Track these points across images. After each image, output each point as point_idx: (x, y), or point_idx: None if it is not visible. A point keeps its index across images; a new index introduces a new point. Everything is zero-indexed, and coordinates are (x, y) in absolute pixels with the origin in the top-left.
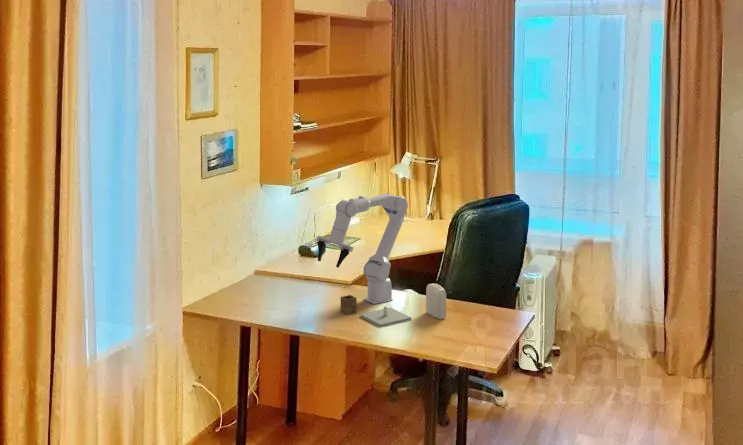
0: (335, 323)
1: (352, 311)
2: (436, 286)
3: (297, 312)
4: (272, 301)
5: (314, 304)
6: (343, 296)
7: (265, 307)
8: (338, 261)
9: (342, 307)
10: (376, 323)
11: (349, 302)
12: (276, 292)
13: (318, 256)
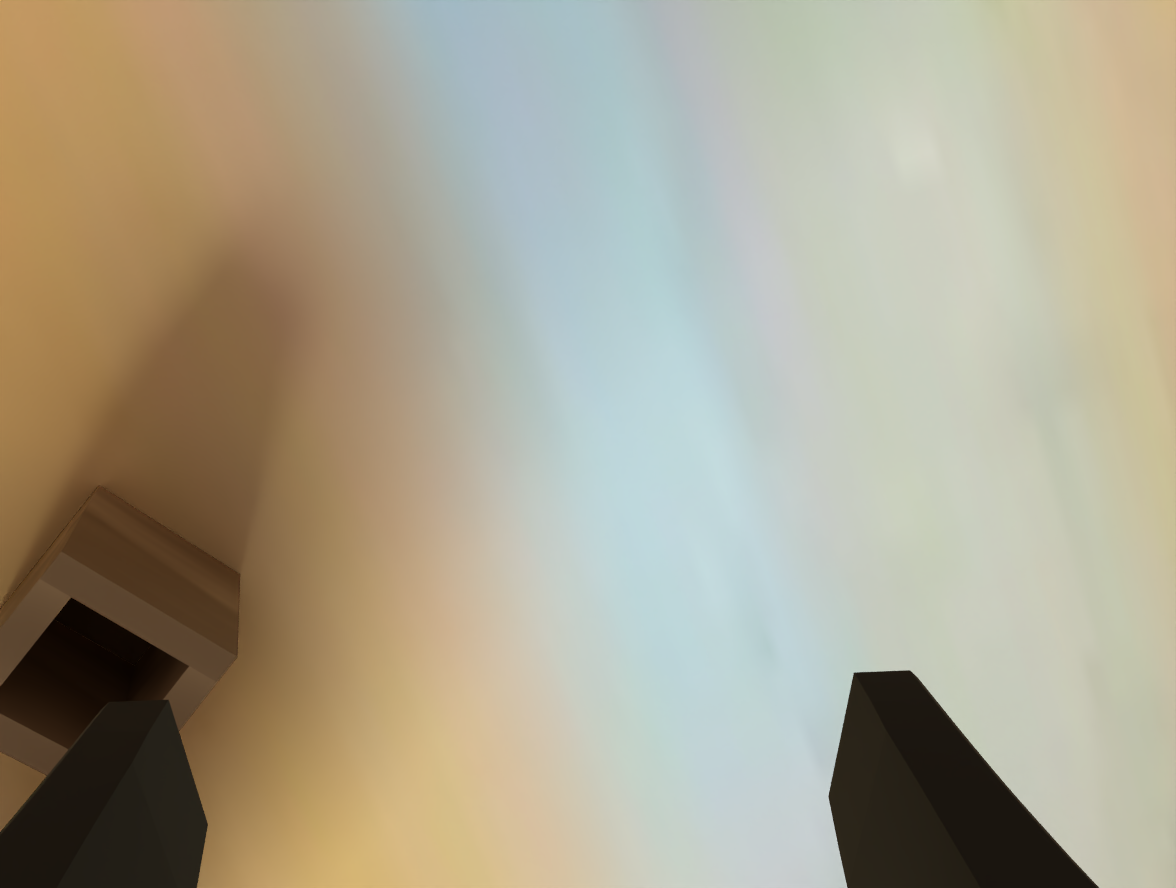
0: (99, 79)
1: (32, 572)
2: None
3: (752, 355)
4: (1100, 597)
5: (660, 687)
6: (197, 695)
7: (1114, 396)
8: (34, 873)
9: (195, 572)
10: None
11: (35, 580)
12: (1133, 854)
13: (984, 773)
